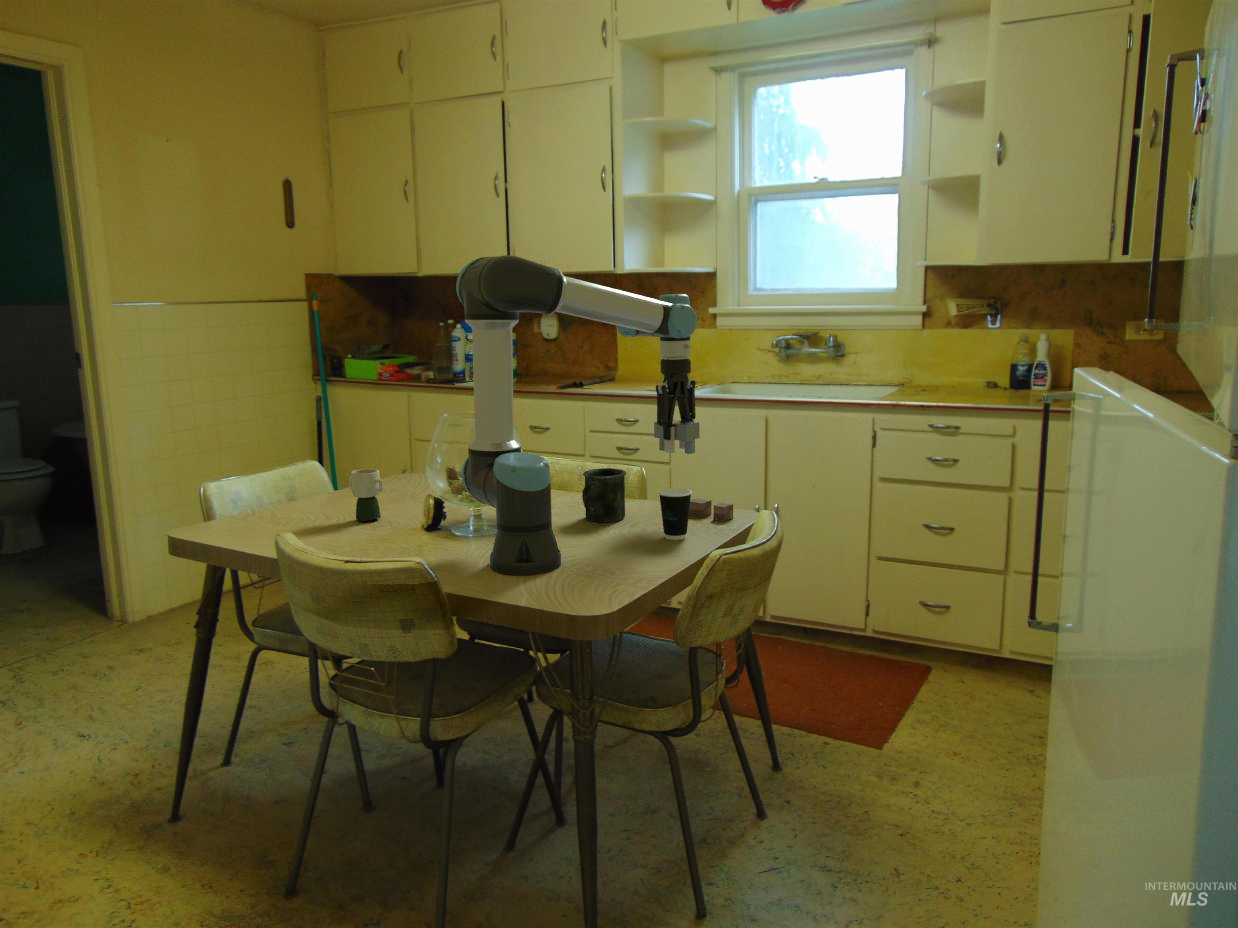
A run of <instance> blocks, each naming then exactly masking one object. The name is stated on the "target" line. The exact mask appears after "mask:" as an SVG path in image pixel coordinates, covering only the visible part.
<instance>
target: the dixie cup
mask: <svg viewBox="0 0 1238 928" xmlns="http://www.w3.org/2000/svg"><path fill="white" fill-rule="evenodd" d="M657 493H658V495H659V502H660V510H661V520H662V528H663V534H664V537H665V539H667V540H671V541H677V540H678V541H679V540H684V539H686V537H687V533H688V525H689V517H690V515H689V508H690V500H691V497H692V494H693V491H692V490H691V489H687V488H682V487H671V488H662V489H659V490H658V492H657Z"/></svg>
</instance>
